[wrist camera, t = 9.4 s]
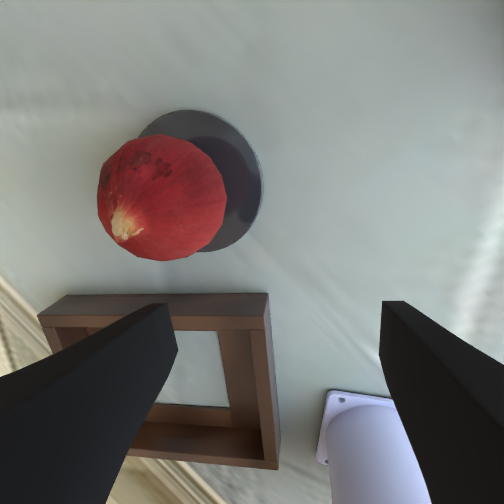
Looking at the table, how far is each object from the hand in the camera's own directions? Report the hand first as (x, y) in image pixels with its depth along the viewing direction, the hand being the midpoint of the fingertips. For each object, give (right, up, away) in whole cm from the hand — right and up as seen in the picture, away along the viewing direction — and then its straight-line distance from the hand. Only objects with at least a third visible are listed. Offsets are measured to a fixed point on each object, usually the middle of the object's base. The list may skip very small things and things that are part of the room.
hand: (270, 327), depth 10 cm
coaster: (-4, +7, +8) cm, 11 cm away
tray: (-7, -7, +14) cm, 17 cm away
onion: (-4, +7, +8) cm, 11 cm away
